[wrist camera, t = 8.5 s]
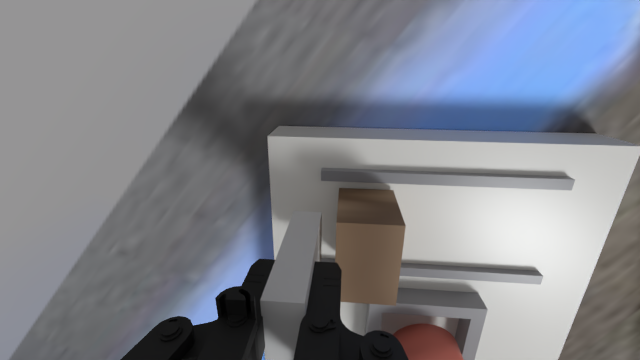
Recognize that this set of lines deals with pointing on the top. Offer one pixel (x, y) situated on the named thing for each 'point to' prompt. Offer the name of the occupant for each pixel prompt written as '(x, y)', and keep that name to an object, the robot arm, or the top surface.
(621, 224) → the top surface
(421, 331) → the red button
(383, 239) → the slider knob
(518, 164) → the panel
